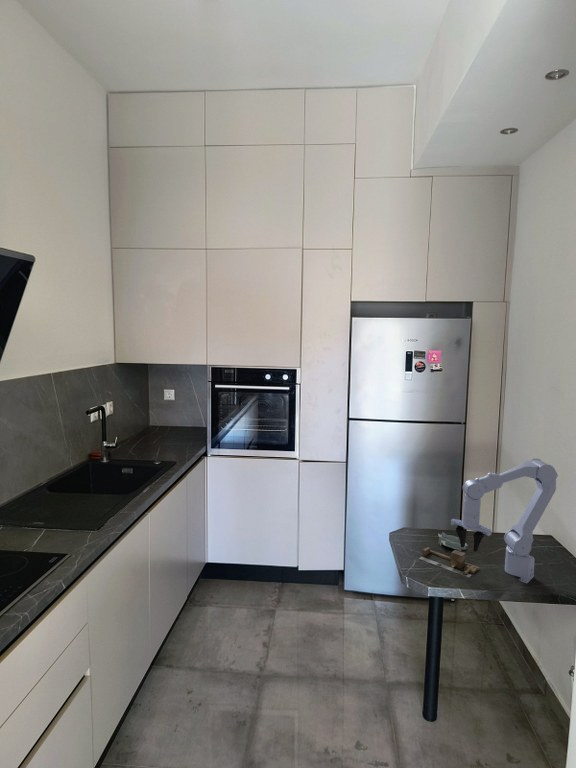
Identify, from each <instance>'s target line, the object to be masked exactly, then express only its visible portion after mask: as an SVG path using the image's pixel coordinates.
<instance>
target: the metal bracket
mask: <svg viewBox="0 0 576 768" xmlns="http://www.w3.org/2000/svg"><path fill="white" fill-rule="evenodd" d="M437 536H438V537H439V538H438V542H437V544H438V545H440V547H441V546H442V545H443V546H445V547H448V548H451V549H454V550H457V551H460V552H463V551H462V550H466V549H467V547H468V544H467V542H466V543H465V546H464V547H461V544H460V539H459V536H455V535H448V534H446V533H445V532H442V533H441V534H440V533H438V535H437Z"/></svg>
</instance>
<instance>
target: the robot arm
mask: <svg viewBox="0 0 576 768" xmlns="http://www.w3.org/2000/svg"><path fill="white" fill-rule="evenodd" d="M486 474H487V475H484V476H481V477H476V478H474V479H468V480H466V481H465V483H464V484H463V485H462V487H461V488H462V490H463V493H464V496H463V497H464V498H463V513H462V514H463V515H462V520H461V519H456V518H451V520H450V525H451V526H456V528H455V532H456V534H457V537H458V538H459V539H460V544H461V547H464V546H465V542H467V541H466V540H467V539H466V537H467V531H468V530H469V531H473V532H474V533H473V552H475V553H476V552H477V551H478V550H479V547H480V544H481V542H482V539H483V538H484V536H485V535H486V537H491V536H492V529H490V528H487V527H485V526H483V525H482V524H480V517H481V502H482V501H481V500H482V498H483V497H484V495H485V494H487V493H490V492H492V491H495V490H498V489H501V488H502V487H503V484H504V483H508V482H510V481H514V480H517V479H520V478H524V477H526V478H530V479H534V481H535V484H536V485H537V488H536V489H535V491H534V494H533V495H532V497H531V499H530V500H529V502H528V504H527V507H526V508H525V510H524V512H523V513H522V516H521V517H520V519H519V521H518V523H516V524H514V525H512V526H511V528H509V530H508V531H506V532H505V534H504V536H503V539H504V542H505V543H506V547H505V560H504V571H505V573H507V574H509V575H511V576H515V577H519V578H518V580H517V581H518V582H521V583H523V584H528V583H529V582H530V581H531V580H533V578H534V577H535V575H534V572H535V570H534V569H535V557H534V556H532V555H530V553H531V551H532V544H533V542H534V536H533V532H534V530H535V529H536V526H537V525H538V523H539V521H540V519H541V518H542V516H543V514H544V512H545V510H546V509H547V507H548V505H549V503H550V502H551V500H552V498H553V496H554V495H555V493H556V490H557V478H558V476H559V475H558V472H557V470H556V469H555V467H554V466H553V465H551V464H549V463H546V462H544V461H543V460H541V459H540V458H533V459H530V460H525V461H524V462H523V463H521V464H519V465H517V466H514V467H512V468H510V469H508V470H506V471H504V472H501V473H496V472H488V473H486Z"/></svg>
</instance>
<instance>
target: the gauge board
mask: <svg viewBox="0 0 576 768" xmlns="http://www.w3.org/2000/svg"><path fill="white" fill-rule="evenodd" d="M421 553H422V554H421V555H422V556H420V557H419V558H418V560H421V561H423V562H426V563H429V564H431V565H433V566H436V567H440V568H442V569H444V570H448V571H449V572H453V573H455V574H458V575H461V576H463V577H465V578H470V577H471V576H473V574H474V573H476V572H477V571H479V570H480V566H477V565H474V564H471V563H468V562H466V561H465V566H464V567H463V571H461V570H458V569H456V568H455V567H454V568H451V566H448V565H445V564H443V563H440V562H437V561H434V560H432V559H429V558H426V556H429V554H432V555H435V556H437V557H439V558H442V559H446V560H449V561H451V556H450V555H449V556H448V555H445V554H443V553H440V552H437V551H434V550H431V547H429V546H428V547H425V548H423V549H422V552H421ZM470 573H471V574H470Z"/></svg>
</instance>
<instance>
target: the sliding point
mask: <svg viewBox="0 0 576 768" xmlns="http://www.w3.org/2000/svg"><path fill="white" fill-rule="evenodd" d="M450 555H451V556H450V557H451V560H450V567H451V568H454V569H455V568H458V569H460V570H461V569H463V568H464V567H466V566H465V562H466V552H463V551H459V550H456V549H454V550H453V551H452V552H451V554H450Z"/></svg>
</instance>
